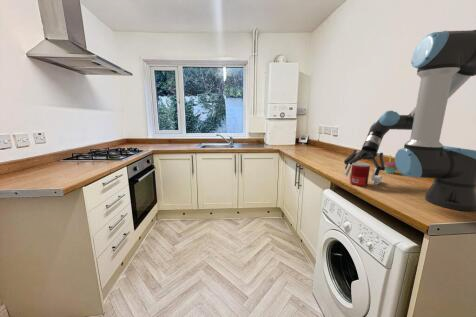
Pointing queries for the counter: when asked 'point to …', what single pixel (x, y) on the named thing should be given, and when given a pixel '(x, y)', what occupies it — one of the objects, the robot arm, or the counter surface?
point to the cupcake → (390, 166)
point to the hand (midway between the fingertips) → (358, 176)
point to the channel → (376, 179)
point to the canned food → (359, 174)
